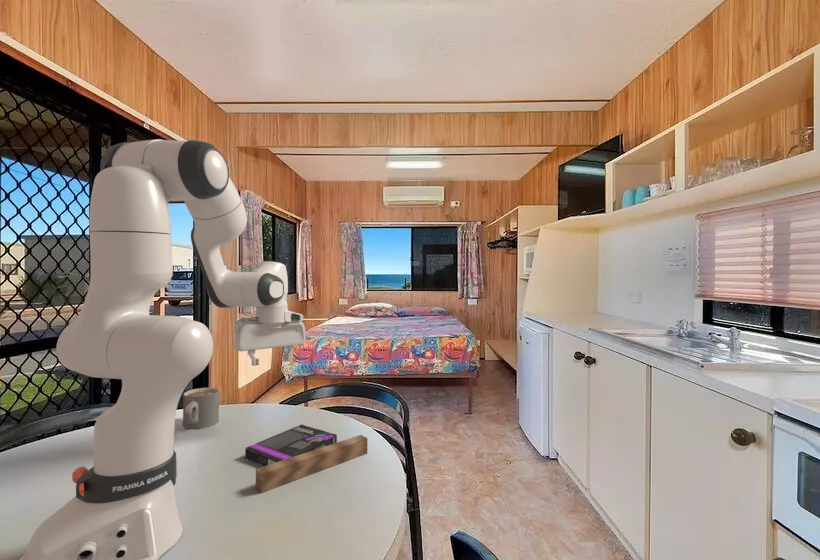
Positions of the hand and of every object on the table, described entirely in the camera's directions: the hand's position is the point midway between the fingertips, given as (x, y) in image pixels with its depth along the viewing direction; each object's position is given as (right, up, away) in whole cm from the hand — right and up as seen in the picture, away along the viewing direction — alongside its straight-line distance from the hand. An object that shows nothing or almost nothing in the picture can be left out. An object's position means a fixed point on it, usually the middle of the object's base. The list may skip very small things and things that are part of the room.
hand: (271, 362), depth 110 cm
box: (+10, -22, -11) cm, 26 cm away
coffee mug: (-25, -21, +6) cm, 34 cm away
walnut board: (+19, -21, -20) cm, 35 cm away
